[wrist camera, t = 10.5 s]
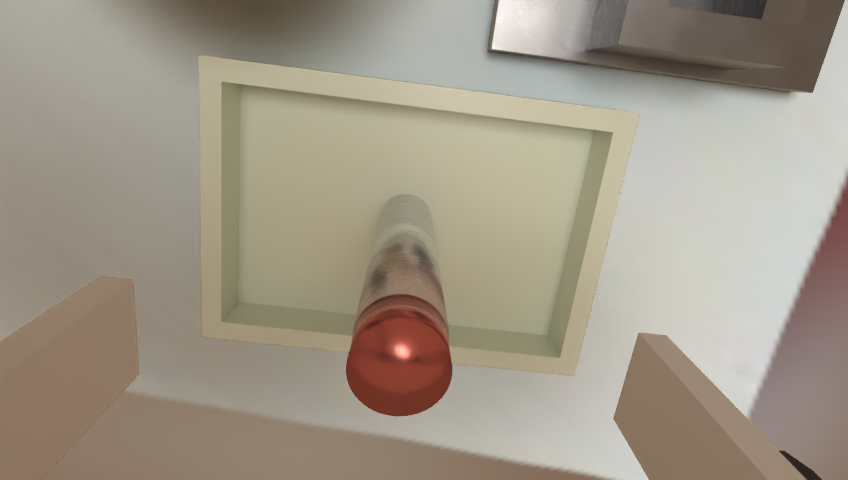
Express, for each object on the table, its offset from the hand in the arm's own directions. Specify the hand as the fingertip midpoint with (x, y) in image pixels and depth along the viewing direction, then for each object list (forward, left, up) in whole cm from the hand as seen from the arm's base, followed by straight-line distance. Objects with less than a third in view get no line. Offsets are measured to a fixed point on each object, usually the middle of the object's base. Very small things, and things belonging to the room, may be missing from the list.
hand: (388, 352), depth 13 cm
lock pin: (0, 0, -14) cm, 14 cm away
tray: (0, 0, -15) cm, 15 cm away
